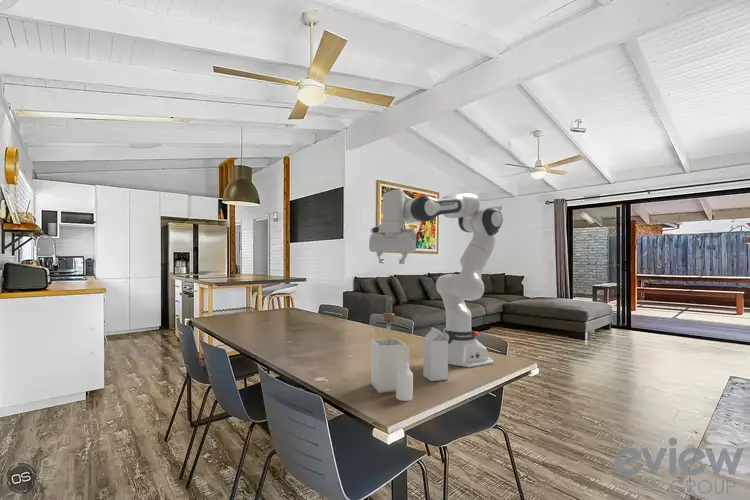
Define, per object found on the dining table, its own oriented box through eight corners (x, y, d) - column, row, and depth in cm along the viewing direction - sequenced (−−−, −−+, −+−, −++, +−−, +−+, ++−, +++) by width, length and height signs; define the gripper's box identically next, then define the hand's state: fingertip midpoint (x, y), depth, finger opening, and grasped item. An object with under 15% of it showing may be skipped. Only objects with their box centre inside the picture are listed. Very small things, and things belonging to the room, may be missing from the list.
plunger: (395, 353, 140) (395, 311, 140) (402, 359, 132) (403, 315, 132) (374, 355, 137) (374, 312, 138) (381, 360, 130) (381, 315, 130)
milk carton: (430, 381, 141) (431, 330, 141) (423, 375, 148) (423, 327, 148) (448, 380, 143) (448, 330, 143) (439, 374, 150) (440, 326, 150)
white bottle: (392, 360, 126) (406, 358, 129) (392, 396, 126) (406, 393, 129) (402, 364, 121) (417, 362, 124) (402, 402, 121) (416, 399, 123)
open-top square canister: (403, 380, 142) (403, 338, 142) (413, 389, 132) (414, 344, 132) (370, 383, 138) (371, 340, 138) (378, 393, 128) (379, 346, 129)
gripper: (419, 229, 147) (418, 264, 147) (376, 230, 159) (375, 263, 158) (411, 227, 142) (410, 264, 141) (367, 229, 153) (366, 262, 153)
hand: (391, 263), depth 150 cm, fingers open, 8 cm apart
